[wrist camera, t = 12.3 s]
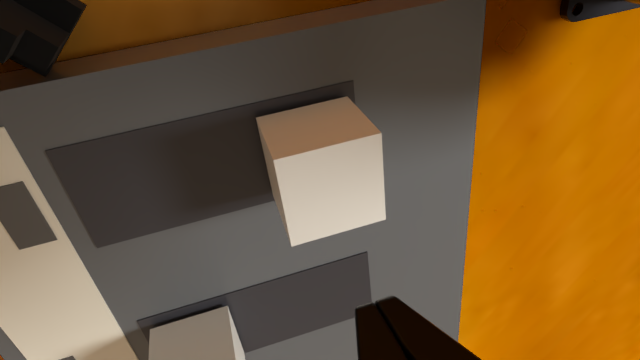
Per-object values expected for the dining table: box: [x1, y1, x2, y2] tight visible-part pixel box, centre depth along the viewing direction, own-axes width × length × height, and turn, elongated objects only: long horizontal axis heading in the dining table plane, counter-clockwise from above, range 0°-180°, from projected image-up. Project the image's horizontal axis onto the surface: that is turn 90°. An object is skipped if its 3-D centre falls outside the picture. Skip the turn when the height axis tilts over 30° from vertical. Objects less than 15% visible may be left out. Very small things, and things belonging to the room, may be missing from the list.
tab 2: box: [256, 96, 386, 247], centre depth 14 cm, size 3×3×3 cm
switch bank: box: [0, 0, 486, 360], centre depth 21 cm, size 20×24×2 cm
